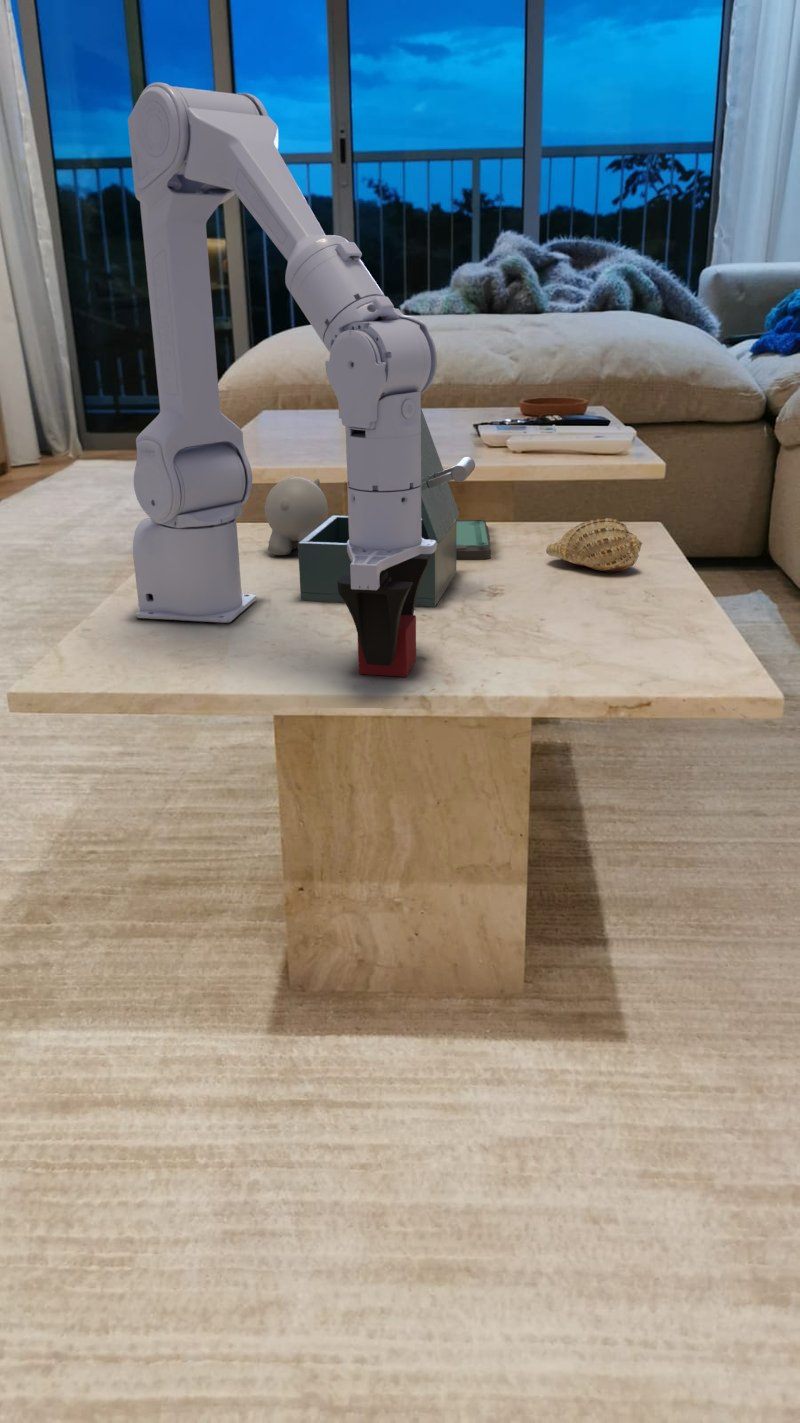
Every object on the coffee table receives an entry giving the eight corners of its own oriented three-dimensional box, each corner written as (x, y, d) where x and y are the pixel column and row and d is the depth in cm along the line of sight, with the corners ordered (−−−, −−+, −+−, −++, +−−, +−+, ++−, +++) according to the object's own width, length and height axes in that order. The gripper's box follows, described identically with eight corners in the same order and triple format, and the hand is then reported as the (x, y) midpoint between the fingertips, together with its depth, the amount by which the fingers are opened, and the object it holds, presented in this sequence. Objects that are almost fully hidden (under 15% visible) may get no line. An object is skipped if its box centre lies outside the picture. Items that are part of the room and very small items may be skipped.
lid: (376, 397, 97) (424, 378, 96) (405, 383, 109) (448, 365, 107) (431, 545, 102) (478, 529, 100) (453, 516, 113) (496, 501, 111)
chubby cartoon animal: (343, 535, 132) (340, 465, 129) (322, 560, 121) (318, 484, 118) (286, 534, 133) (282, 464, 130) (260, 558, 122) (255, 483, 119)
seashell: (560, 601, 115) (649, 565, 111) (537, 550, 113) (628, 512, 110) (564, 581, 122) (648, 546, 118) (543, 533, 120) (628, 497, 117)
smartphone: (426, 549, 120) (427, 518, 134) (427, 560, 121) (427, 528, 134) (492, 548, 120) (487, 518, 134) (492, 559, 120) (486, 527, 134)
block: (358, 674, 87) (357, 627, 86) (370, 657, 91) (368, 612, 89) (406, 677, 86) (406, 630, 85) (416, 660, 90) (416, 615, 88)
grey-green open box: (300, 600, 107) (297, 543, 104) (334, 567, 118) (332, 515, 116) (435, 607, 104) (435, 548, 102) (456, 572, 115) (456, 519, 113)
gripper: (416, 505, 75) (418, 685, 81) (451, 469, 88) (450, 626, 94) (320, 503, 77) (327, 680, 82) (368, 467, 90) (372, 622, 95)
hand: (387, 651), depth 88 cm, fingers open, 5 cm apart
